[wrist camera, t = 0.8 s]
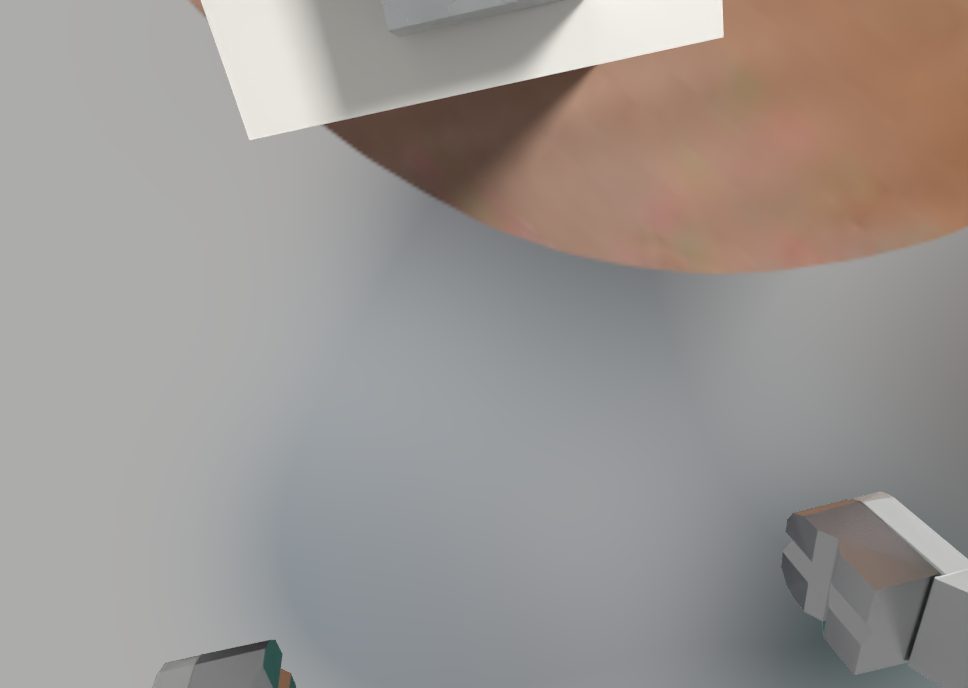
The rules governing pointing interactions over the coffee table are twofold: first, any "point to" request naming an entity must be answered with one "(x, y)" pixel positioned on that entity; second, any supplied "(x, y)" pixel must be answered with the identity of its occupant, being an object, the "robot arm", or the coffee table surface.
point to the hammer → (445, 12)
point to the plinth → (422, 52)
